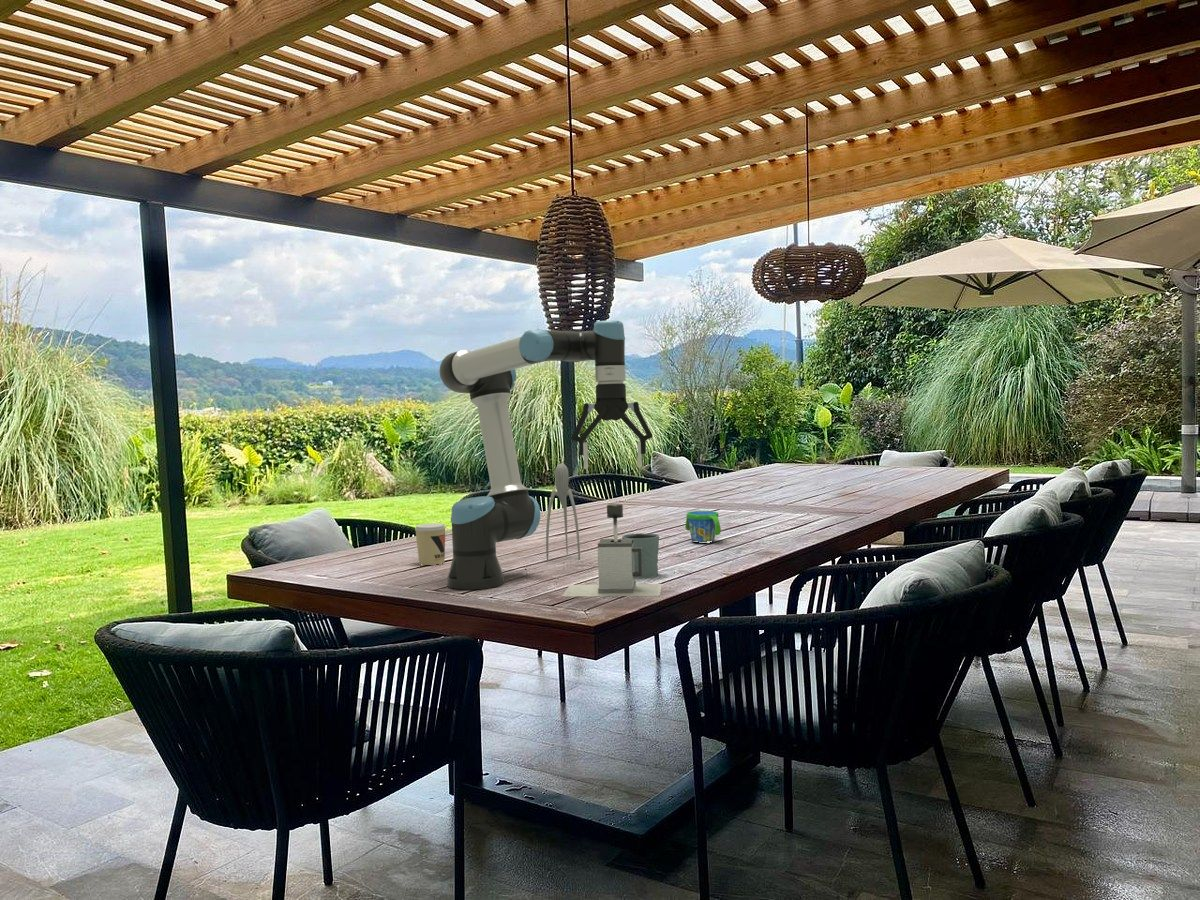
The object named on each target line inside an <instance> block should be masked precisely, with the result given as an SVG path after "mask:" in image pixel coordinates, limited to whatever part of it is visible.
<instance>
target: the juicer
mask: <svg viewBox="0 0 1200 900" xmlns="http://www.w3.org/2000/svg"><path fill="white" fill-rule="evenodd" d="M568 469H569V468H568V467H567V466H566V464H564V463H563V462H561V463H559V464H558V465H557V466H556V467H555V470H554V479H555V487H556V488H555V489H556V490H555V489H552V491H551V494H550V498H549V503H548V508H547V517H546V529H545V531H546V534H545V549H546V551H545V552H546V553H545V554H546V556H545V557H546V562H549V533H550V520H551V513H552V506H553V504H554V503H553V502H554V499H555V496H557V497H558V499H559V502H560V505H561V507H562V509H563V519H564V520H563V521H564V533H565V534H564V535H565V549H566V551H565V552H566V556H567V555H568V553H569V552H568V548H569V547H568V509H567V508H568V506H567V496H568V497H569V500H570V504H571V507H572V513H573V516H574V517H573V518H574V525H575V533H576V542H577V554H578V556H577V557H578V559H577V560H578V561H579V560H580V561H581V551H580V550H581V549H580V547H581V546H580V531H579V522H578V515H577V508H576V504H575V499H574V496H573V492H572V489H571V488H569V470H568ZM568 556H569V555H568Z"/></svg>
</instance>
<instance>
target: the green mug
mask: <svg viewBox="0 0 1200 900" xmlns="http://www.w3.org/2000/svg"><path fill="white" fill-rule="evenodd" d="M621 539H634V547H642V576H635V579H650V578H654V577H657V576H658V574H659V568H658V567H659V566H658V563H659V559H658V558H659V549H660V548H659V547H660V546H659V543H660V542H659V541H660V535H659V534H657V533H630V534H629V533H628V534H625V535H622V536H621ZM634 567H635V572H639V565H638V552H634Z"/></svg>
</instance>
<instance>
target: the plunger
mask: <svg viewBox="0 0 1200 900" xmlns="http://www.w3.org/2000/svg"><path fill="white" fill-rule="evenodd" d="M623 508H624V505H623V504H622V503H621V504H620V503H618V504H617V503H615V504H614V503H613V504H612V503H611V504H606V517H607V518H608V519H613V520H612V521H613V523H612V525H613V527H612V528H613V539H614V542H618V539H619V537H618V532H619V531H618V519H619V518H623V517H624V509H623Z"/></svg>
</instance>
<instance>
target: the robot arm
mask: <svg viewBox="0 0 1200 900" xmlns="http://www.w3.org/2000/svg"><path fill="white" fill-rule="evenodd" d="M625 339H626V336H625V328H624V323H623V322H622V321H620V320H614V319H613V320H599V321H595V322H594V324H593V330H586V331H585V330H584V331H573V330H571V331H570V330H569V331H568V330H549V329H548V330H547V329H542V328H541V329H540V328H537V329H530V330H529V329H527V330H526V331H524V333H523V334H522V335H521V336H519V337H516V338H512V339H508V340H506V341H505V340H504V341H501V342H499V343H496V344H492V345H488V346H484V347H482V348H479V349H475V350H472V351H471V350H467V349H461V350H458V351H454V352H451V353H449V354H447V355H446V356H445V357H443V359H442V361H441V363H440V366H439V378H440V380H441V382H442V383H443V385H444V386H445V387H446V388H447V389H449V390H450V391H452V392H455V393H459V394H469V397H470V402H471V403H472V404H473V405H474V406H476V407H477V413H478V419H479V425H480V429H481V430H480V431H481V436H482V441H483V443H482V444H483V448H484V453H485V458H486V459H485V460H486V465H487V472H488V477H489V483H490V487H491V488H490V491H488V494H487V495H483V496H475V497H469V498H468V497H467V498H465V499H460V500H458V501H456V502H455V503H454V504H453V505H452V506H451V512H450V513H451V516H450V522H451V535H452V536H451V537H452V538H451V540H452V541H451V542H452V560H451V564H450V567H449V571H448V575H447V587H448V588H450V589H453V588H454V590H465V591H466V590H482V589H483V590H485V589H489V588H495V587H499V586H501V585H503V584H504V573H503V570H502V568H501V565H500V562H499V560H498V557H497V546H496V543H500V542H506V541H513V540H521V539H523V538H526V537H529V536H531V535H533V534H534V533H535V532H536V530H537V528H538V527H539V525H540V521H541V508H540V504H539V503H538V501H536V499H535V498H534V497H533V496H530V495H529V489H528V488H527V487H526V486H525V485H523V484H522V481H521V475H520V469H519V463H518V456H517V452H516V447H515V442H514V441H515V440H514V434H513V429H512V423H511V422H512V421H511V418H510V412H509V406H508V400H509V399H510V398H511V396H512V393H511V391H512V390H513V388H514V386H515V384H516V381H517V372H516V369H519V368H523V367H524V368H525V367H529V366H531V365H535V364H539V363H543V362H556V361H557V362H559V361H560V362H569V363H579V362H587V361H588V362H589V361H594V368H595V369H594V370H595V372H594V374H595V375H594V376H595V377H594V378H595V380H594V381H595V382H596V383H597V384H596V385H595V403H594V404H593V403H588V402H585V403H584V404H583V406H582V407H583V408H582V414H581V415H580V418H579V420H578V422H577V423H576V424H577V425H576V426H575V429H574V431H573V433H572V435H571V437H570V439H571V440H572V441H575V442H577V443H578V453H579V455H580V456H583V469H584V470H587V469H589V456H588V455H589V451H588V449H589V448H588V447H589V446H588V442H587V441H586V442H585V440H586V439H588V437H589V436H590V434H591V433H592V432H593V431H594V430H595V428H596V427H597V426H598V424H600V422H601V421H611V420H612V421H620V420H622V421H623V422H624V423H625V425H626V426H628V428H629V429H630V431H632V433H633V434H634V435H636V437H637V438H638V439H639V440H640V441H639V440H637V467H638V469H641V468H642V467H643V464H642V463H643V462H642V461H643V460H642V459H643V458H642V456H643V455H645V454H646V452H647V443H646V442H647V440H651V439H652V438H653V433H652V431H651V429H650V427H649V425H648V423H647V422H646V420H645V418H644V416H643V414H642V412H641V410H640V404H639V402H638V401H633V402H629V403H628V402H627V387H626V384H625V383H624V382H625V381H626V362H625V361H626V359H625V357H626V356H625V355H626V354H625V353H626V351H625V349H626V346H625V345H626V344H625V343H626V342H625V341H626V340H625ZM628 409H630V410H631V411H632V412H634V414H635V415H636V418H637V420H638V422H639V423H640V425H641V427H642V429H643V431H644V433H645V434H643V433H642V432H641V430H640V429H639V428H638V426H636V425H635V424H634V423H633V421H632V420H630V418H629V417H628V416H627V415H626V412H627V410H628ZM593 410H595V411H596V413H597V416H596V417H595V418H594V419H593V421H592V422H591V423H590V425H589V426H588V427H587V428H586V430H584V432H583V433H582V434H581V435H580V433H581V431H582V429H583V427H584V425H585V422H586V420H587V418H588V417H589V413H591V412H592V411H593ZM579 435H580V436H579Z"/></svg>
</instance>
